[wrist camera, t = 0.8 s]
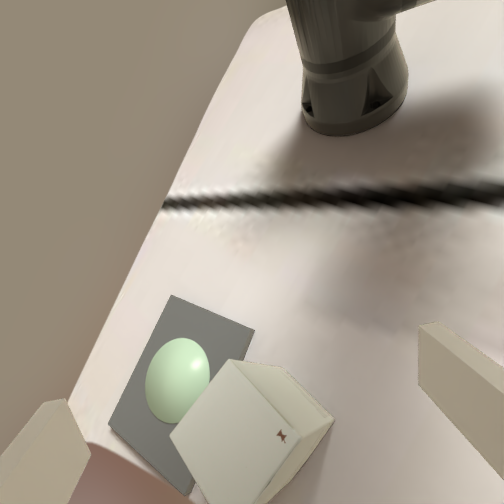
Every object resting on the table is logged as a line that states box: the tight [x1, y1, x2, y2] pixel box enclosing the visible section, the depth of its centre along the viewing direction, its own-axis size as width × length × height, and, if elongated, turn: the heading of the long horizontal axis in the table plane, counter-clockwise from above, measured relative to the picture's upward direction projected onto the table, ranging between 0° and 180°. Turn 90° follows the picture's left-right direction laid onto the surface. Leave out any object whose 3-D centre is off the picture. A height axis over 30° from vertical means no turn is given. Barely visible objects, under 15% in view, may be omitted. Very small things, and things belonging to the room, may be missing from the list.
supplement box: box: [169, 359, 335, 504], centre depth 23 cm, size 7×7×13 cm
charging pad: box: [108, 295, 255, 496], centre depth 35 cm, size 18×14×1 cm
